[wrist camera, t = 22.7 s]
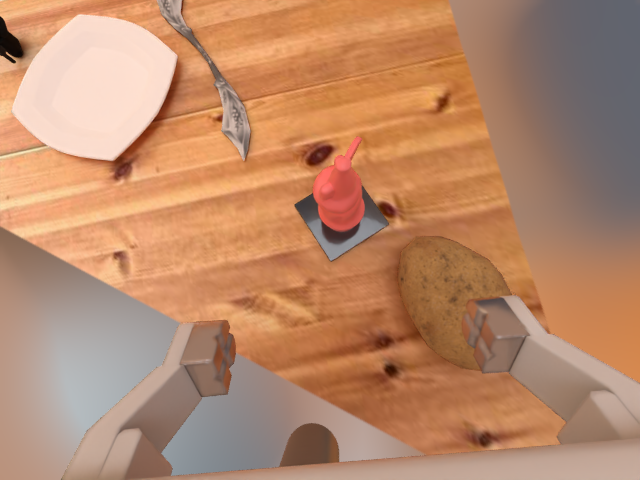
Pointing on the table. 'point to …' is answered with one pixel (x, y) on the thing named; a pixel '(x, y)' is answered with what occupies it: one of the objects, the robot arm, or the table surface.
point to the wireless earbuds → (8, 43)
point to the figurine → (340, 192)
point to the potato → (445, 292)
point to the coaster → (341, 241)
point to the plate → (95, 87)
